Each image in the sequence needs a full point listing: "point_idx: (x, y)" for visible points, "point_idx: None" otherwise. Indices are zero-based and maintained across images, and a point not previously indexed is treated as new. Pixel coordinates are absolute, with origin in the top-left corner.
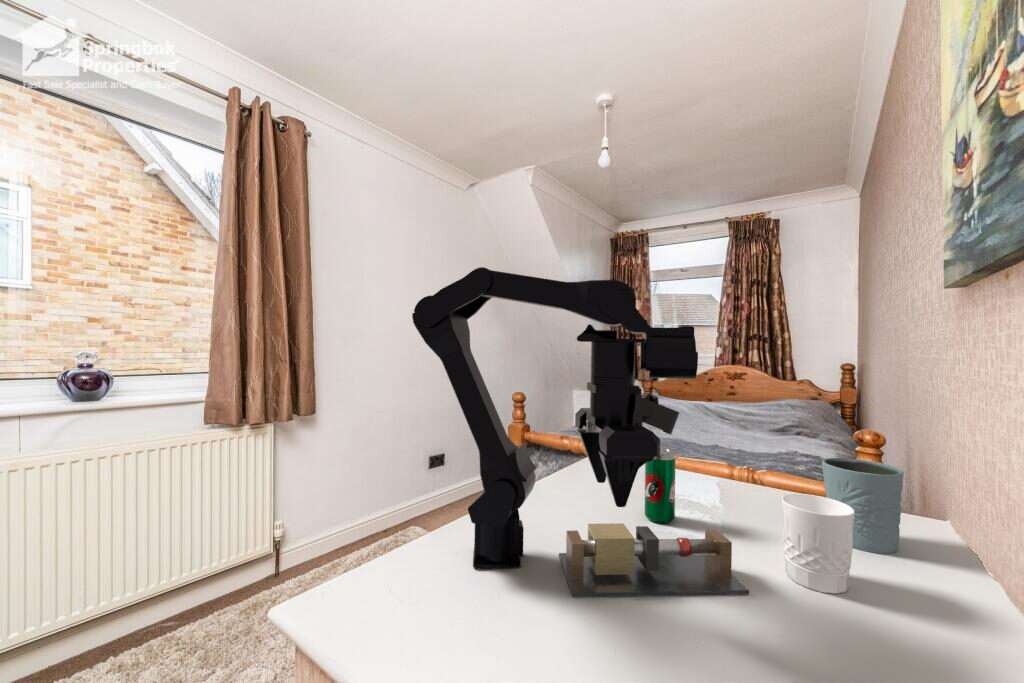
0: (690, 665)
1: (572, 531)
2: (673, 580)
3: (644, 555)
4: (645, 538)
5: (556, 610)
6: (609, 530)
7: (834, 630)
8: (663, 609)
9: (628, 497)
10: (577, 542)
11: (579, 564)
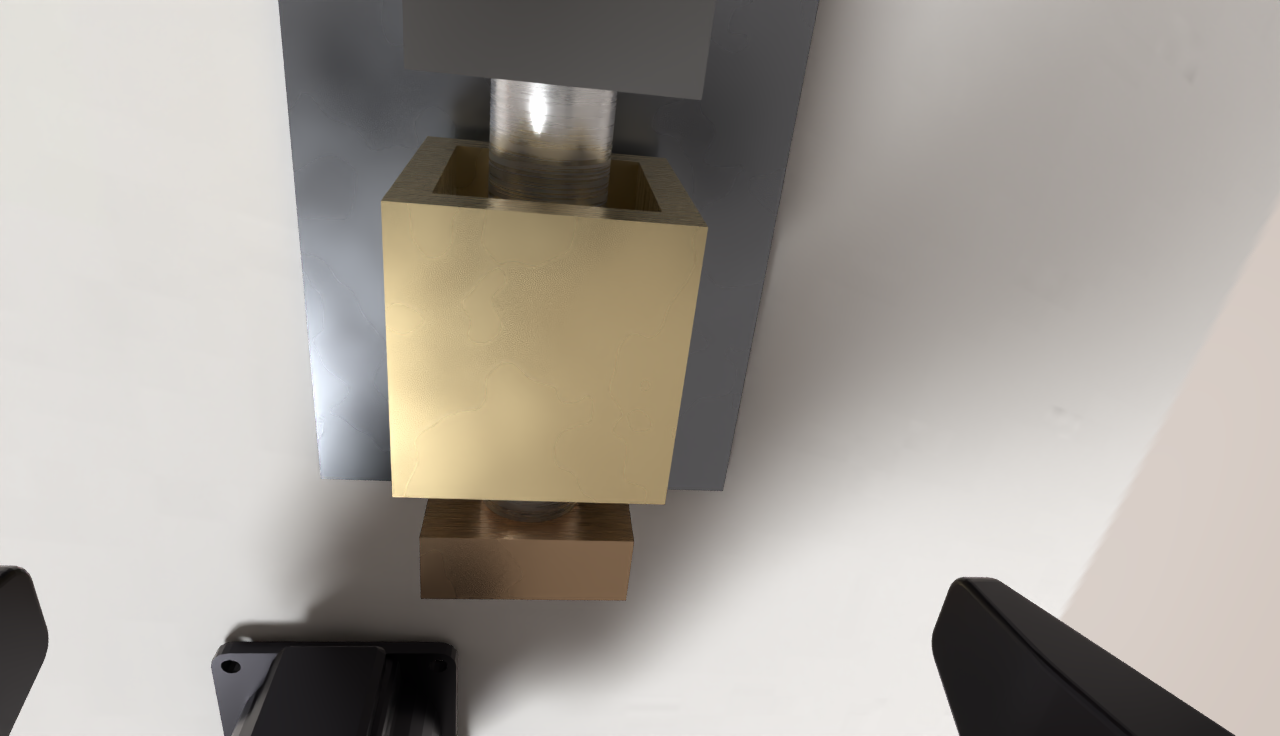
0: (1250, 171)
1: (433, 567)
2: None
3: None
4: (667, 95)
5: (789, 548)
6: (533, 375)
7: None
8: (914, 90)
9: (1105, 650)
10: (607, 570)
11: None
